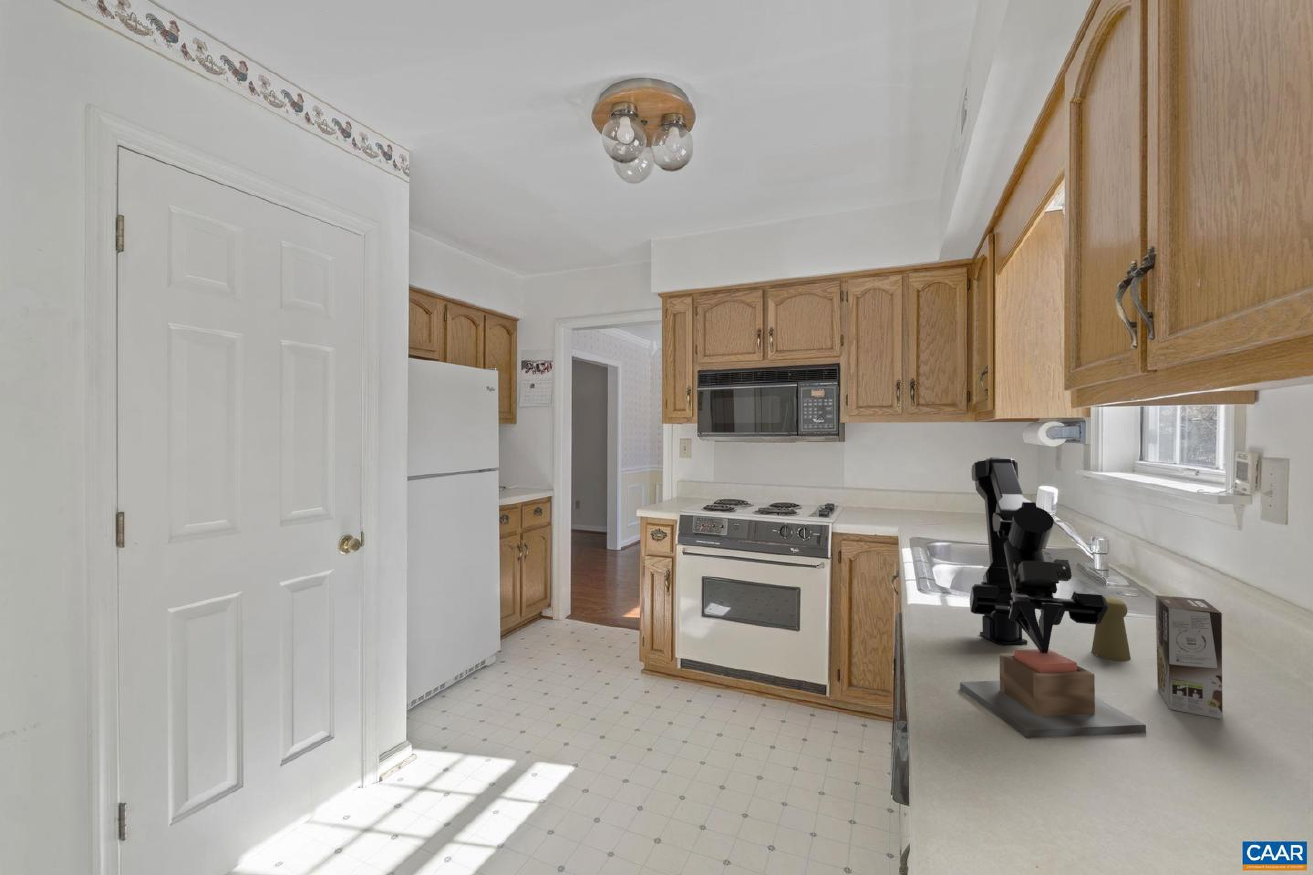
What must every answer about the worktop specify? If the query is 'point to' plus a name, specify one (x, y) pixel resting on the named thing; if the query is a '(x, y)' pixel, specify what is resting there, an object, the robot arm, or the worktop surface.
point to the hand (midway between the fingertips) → (1044, 652)
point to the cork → (1112, 633)
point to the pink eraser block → (1045, 661)
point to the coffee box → (1189, 655)
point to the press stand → (1049, 702)
